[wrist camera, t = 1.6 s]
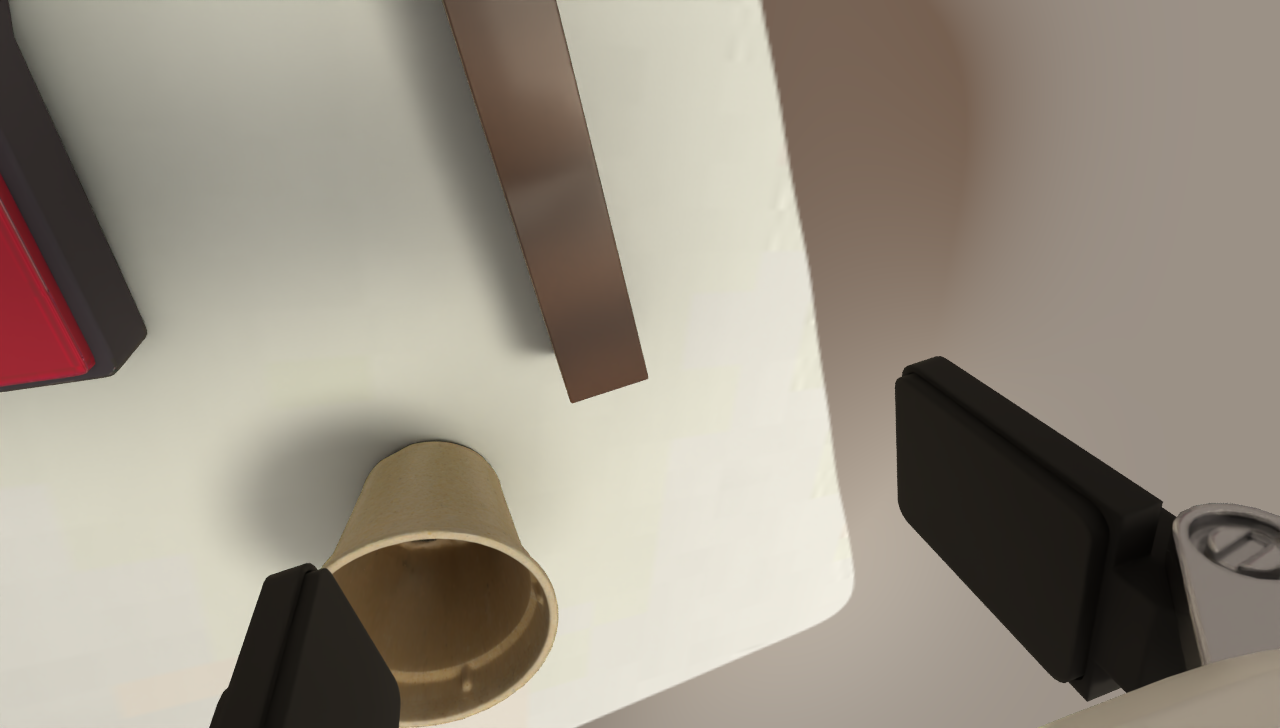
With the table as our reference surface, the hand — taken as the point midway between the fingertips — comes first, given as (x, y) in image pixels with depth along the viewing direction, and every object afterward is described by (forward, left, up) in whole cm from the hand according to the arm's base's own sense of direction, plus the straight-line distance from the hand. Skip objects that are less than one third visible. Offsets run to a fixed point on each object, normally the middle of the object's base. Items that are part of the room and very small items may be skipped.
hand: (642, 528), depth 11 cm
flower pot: (+11, -8, -19) cm, 23 cm away
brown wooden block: (-2, +1, -19) cm, 19 cm away
